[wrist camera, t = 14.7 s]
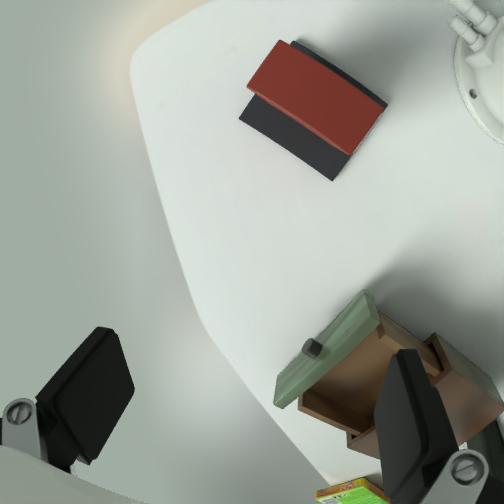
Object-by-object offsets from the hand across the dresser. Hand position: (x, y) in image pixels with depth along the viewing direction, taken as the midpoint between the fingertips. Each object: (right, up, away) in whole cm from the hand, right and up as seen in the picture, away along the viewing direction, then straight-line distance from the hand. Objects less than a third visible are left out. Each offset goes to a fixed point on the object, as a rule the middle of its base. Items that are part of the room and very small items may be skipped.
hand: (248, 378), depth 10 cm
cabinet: (+21, -14, +22) cm, 34 cm away
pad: (+5, +15, +13) cm, 21 cm away
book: (+5, +15, +13) cm, 20 cm away
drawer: (+11, -8, +20) cm, 25 cm away
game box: (+15, -37, +32) cm, 51 cm away
